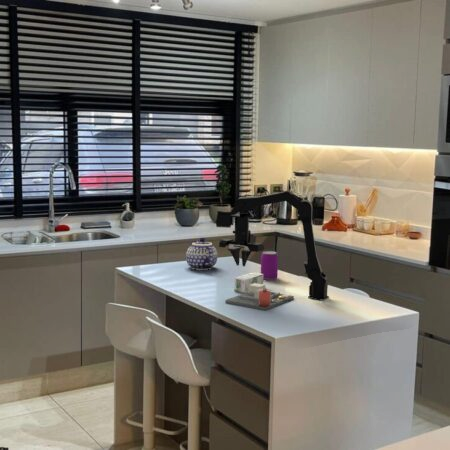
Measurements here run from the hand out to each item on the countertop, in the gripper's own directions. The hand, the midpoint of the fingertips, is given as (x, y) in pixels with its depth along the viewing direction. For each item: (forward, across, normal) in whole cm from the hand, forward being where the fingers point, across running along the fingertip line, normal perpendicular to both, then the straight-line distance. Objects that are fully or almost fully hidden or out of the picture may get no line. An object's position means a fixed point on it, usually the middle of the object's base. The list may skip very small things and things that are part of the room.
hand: (240, 265), depth 287 cm
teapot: (+12, +42, -30) cm, 53 cm away
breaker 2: (+10, -15, +7) cm, 19 cm away
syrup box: (+9, +1, -16) cm, 18 cm away
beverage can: (+12, +5, -32) cm, 34 cm away
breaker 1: (+10, -8, 0) cm, 13 cm away
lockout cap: (+10, -20, +13) cm, 26 cm away
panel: (+12, -13, +6) cm, 18 cm away
